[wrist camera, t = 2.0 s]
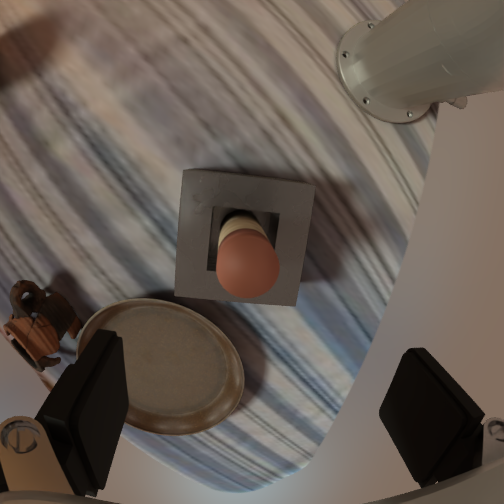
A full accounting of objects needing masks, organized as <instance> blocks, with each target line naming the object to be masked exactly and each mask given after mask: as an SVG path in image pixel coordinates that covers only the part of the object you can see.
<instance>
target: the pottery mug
mask: <svg viewBox="0 0 504 504" xmlns="http://www.w3.org/2000/svg"><path fill="white" fill-rule="evenodd" d="M25 292H29V295H27V296H26V297H25V298H24V299H22V300H21V298H22V295H23V294H24V293H25ZM10 302H11V305H12V307H13V314H11V315H10V317H9V322H8V323H7V324H5V325H4V326H3V328H4V330H5V332H6V334H7V336H8V335H10V334H11V335H12V336H13V337H14V339H13V340H11V343H12V344H13V346H14V347H15V349H16V350H17V351H18V352H19V354H20V355H21V356H22V357H23V358H24V359H25V360H26V361H27V362H28V363H29V364H30V365H31V366H32V367H33V368H35V369H36V370H37V371H39V372H42V371H44V370H45V367H52V366H55V365H56V364H59V363H60V361H61V358H60V357H57V358H49V357H47V356H46V355H50V354H53V353H56V352H57V351H58V349H59V347H60V343H59V341H60V340H61V339H62V338H63V336H64V334H65V333H66V331H68V332H69V334H70V336H71V338H72V339H75V338H76V336H77V334H78V333H79V331H80V329H81V328H82V326H81V323H80V320H79V319H78V317H77V315H76V313H75V312H74V310H73V308H72V306H70V304H69V303H68V301H66V299H65V298H64V297H62V296H61V295H60V294H59V293H58V292H55V293H54V294H52V295H50V296H47V297H46V292H45V291H44V290H42V289H40V288H39V287H38V286H37V285H36V284H35V283H34V282H32V281H28V280H22V281H17V283H16V284H15V285H14V286H13V287H12V289H11V292H10ZM32 312H34V313H35V312H36V313H38V315H37V317H36V319H35V320H34V319H33V318H32V317H31V316H30V315H31V314H32ZM14 316H15V318H14Z"/></svg>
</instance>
